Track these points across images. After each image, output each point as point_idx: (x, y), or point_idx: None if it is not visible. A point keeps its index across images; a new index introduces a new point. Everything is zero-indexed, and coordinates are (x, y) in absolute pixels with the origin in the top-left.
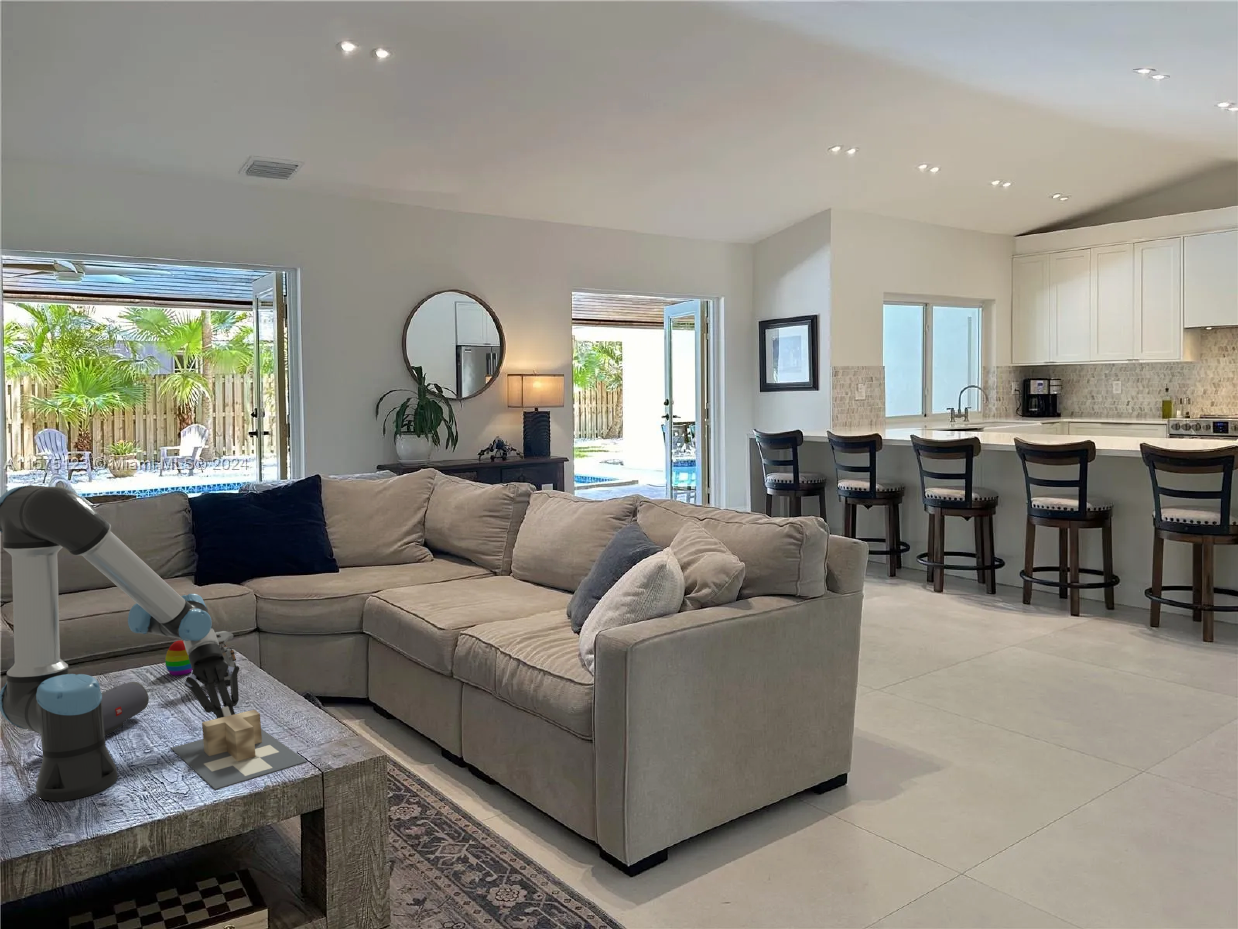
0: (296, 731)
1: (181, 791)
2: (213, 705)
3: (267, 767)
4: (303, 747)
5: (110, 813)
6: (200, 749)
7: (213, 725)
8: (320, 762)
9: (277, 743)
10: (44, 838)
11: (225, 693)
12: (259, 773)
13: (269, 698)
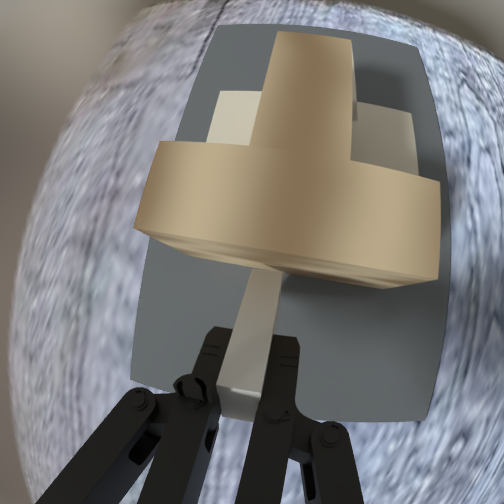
0: (94, 210)
1: (471, 94)
2: (297, 443)
3: None
4: (163, 89)
5: None
6: (382, 322)
7: (408, 173)
8: (204, 17)
9: None
10: None
11: (172, 477)
12: (322, 32)
13: None
